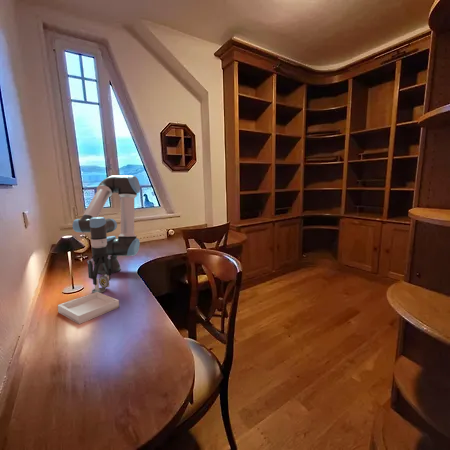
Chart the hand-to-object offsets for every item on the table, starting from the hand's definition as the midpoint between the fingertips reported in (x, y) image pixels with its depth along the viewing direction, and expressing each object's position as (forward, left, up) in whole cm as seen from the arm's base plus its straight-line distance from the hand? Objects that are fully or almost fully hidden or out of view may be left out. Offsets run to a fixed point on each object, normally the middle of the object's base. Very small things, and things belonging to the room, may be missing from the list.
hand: (102, 288), depth 136 cm
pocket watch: (+1, 0, -1) cm, 2 cm away
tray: (+16, +17, -1) cm, 24 cm away
